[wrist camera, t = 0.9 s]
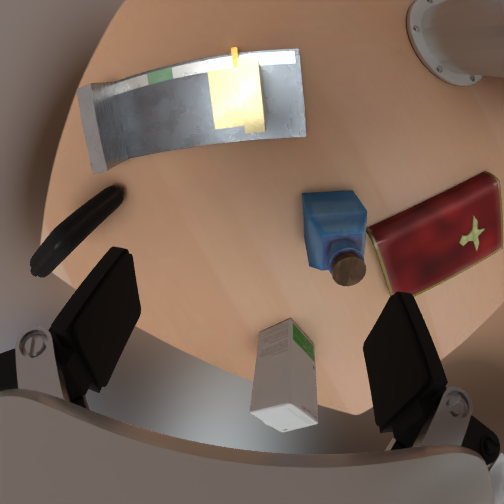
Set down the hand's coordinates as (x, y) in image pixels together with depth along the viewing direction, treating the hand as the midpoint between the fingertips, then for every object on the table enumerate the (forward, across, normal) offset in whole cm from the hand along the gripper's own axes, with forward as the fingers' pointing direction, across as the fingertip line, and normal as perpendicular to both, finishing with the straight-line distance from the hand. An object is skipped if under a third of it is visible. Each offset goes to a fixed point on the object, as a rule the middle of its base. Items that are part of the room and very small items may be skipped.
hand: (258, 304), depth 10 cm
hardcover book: (+26, -25, +6) cm, 37 cm away
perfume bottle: (+25, -8, +7) cm, 27 cm away
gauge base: (+25, +9, -4) cm, 27 cm away
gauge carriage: (+23, +5, -7) cm, 25 cm away
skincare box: (+24, -7, +30) cm, 39 cm away
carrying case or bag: (+24, +22, +10) cm, 34 cm away
